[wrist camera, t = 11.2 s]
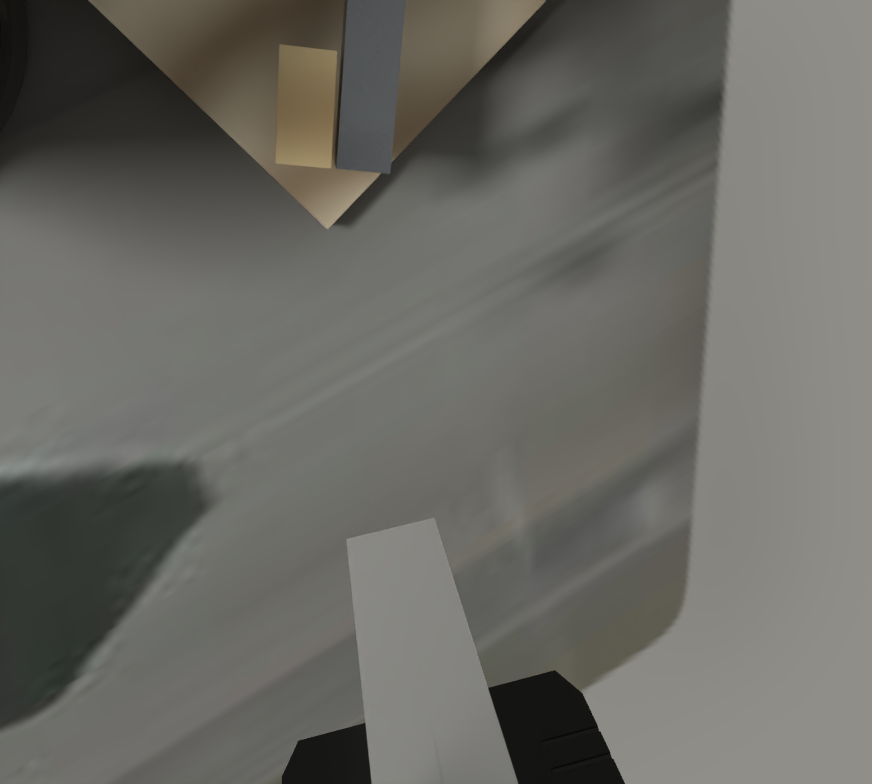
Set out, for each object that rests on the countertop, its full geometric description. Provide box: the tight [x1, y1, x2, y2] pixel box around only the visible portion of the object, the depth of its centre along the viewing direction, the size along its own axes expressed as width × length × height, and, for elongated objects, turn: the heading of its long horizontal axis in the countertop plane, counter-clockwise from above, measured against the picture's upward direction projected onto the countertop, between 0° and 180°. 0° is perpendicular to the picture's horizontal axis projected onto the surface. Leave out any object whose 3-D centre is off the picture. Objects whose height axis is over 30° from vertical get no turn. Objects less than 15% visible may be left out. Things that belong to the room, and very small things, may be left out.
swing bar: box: [334, 0, 406, 174], centre depth 28 cm, size 11×4×2 cm, turn 174°
